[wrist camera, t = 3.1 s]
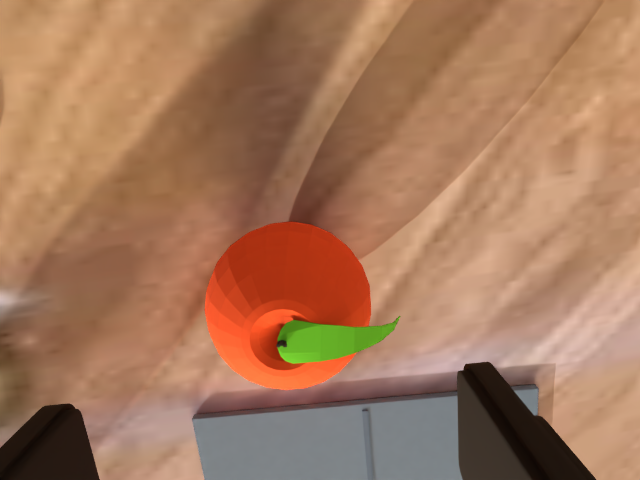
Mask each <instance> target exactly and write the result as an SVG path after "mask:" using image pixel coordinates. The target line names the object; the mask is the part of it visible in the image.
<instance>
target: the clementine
mask: <svg viewBox="0 0 640 480" xmlns="http://www.w3.org/2000/svg"><path fill="white" fill-rule="evenodd" d="M205 315H206V320H207V325H208V330H209V333H210V336H211V338H212V340H213V342H214V344H215V346H216V348H217V350H218V353H219V355H220V356H221V357H222V358H223V359H224V360H225V362H226V363H227V364H228V365H229V366H230V367H231V368H232V369H233V370H234V371H235V372H237V373H238V374H240V375H241V376H243V377H244V378H246V379H247V380H249V381H251V382H254V383H257V384H259V385H262V386H264V387H268V388H275V389H283V390H290V389H301V388H307V387H310V386H313V385H316V384H319V383H322V382H324V381H326V380H327V379H329V378H330V377H332V376H334V375H335V374H337V373H338V372H340V371H341V370H342V369H343V367H344V366H345V365H346V364H347V363H348V362H349V361H350V360H351V359H352V358H353V356H354V355H355V354H356V353H357V352H359V351H361V350H364V349H366V348H368V347H370V346H372V345H374V344H376V343H378V342H380V341H382V340H383V339H384V338H385V337H386V336H387V335H389V334H390V333H391V332H392V331H393V330H394V328H395V326H396V324H397V322H398V320H399V318H400V316H399V317H398V318H397V319H396V320H395V321H394V322H393V323H390V324H386V325H382V326H369V321H370V316H371V299H370V286H369V283H368V280H367V277H366V275H365V272H364V269H363V267H362V265H361V263H360V262H359V261H358V259H357V258H356V257H355V255H354V254H353V253H352V251H351V250H350V249H349V248H348V247H347V246H346V245H345V244H344V243H343V242H341V241H340V240H339V239H338V238H336V237H335V236H334V235H333V234H331V233H330V232H328V231H325V230H323V229H321V228H318V227H316V226H314V225H311V224H304V223H298V222H282V223H273V224H269V225H266V226H264V227H261V228H259V229H256V230H253V231H251V232H249V233H247V234H246V235H244V236H243V237H242V238H240V239H239V240H238V241H236V242H235V243H233V244H232V245H231V246H230V247H229V248H228V249H227V251H226V252H225V253H224V254H223V256H222V257H221V258H220V259H219V261H218V262H217V264H216V267H215V269H214V272H213V274H212V277H211V279H210V282H209V284H208V287H207V291H206V301H205ZM368 326H369V327H368Z"/></svg>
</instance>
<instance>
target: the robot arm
mask: <svg viewBox="0 0 640 480" xmlns="http://www.w3.org/2000/svg"><path fill="white" fill-rule="evenodd" d="M457 398H458V459H459V468H460V473H461V476H462V479H463V480H596V479H595V477H594V476H593V475H592V474H591V473H590V472H589V470H588V469H587V468H586V467H585V466H584V465H583V463H582V462H581V461H580V460H579V459H578V458H577V456H576V455H575V454H574V453H573V452H572V451H571V449H570V448H569V447H568V446H567V445H566V443H565V442H564V441H563V440H562V439H561V438H560V436H559V435H558V434H557V433H556V432H555V431H554V429H553V428H552V427H551V426H550V425H549V424H548V422H547V421H546V420H545V419H543V418H542V417H541V416H538V415H533V414H532V412H531V411H530V410H529V409H528V407H527V406H526V405H525V404H524V403H523V401H522V400H521V399H520V398H519V397H518V395H517V394H516V393H515V392H514V390H513V389H512V388H511V387H510V386H509V384H508V383H507V382H506V381H505V380H504V378H503V377H502V376H501V375H500V374H499V372H498V371H497V370H496V369H495V367H494V366H493V365H492V364H491V363H490V362H482V363H472V364H466V365H465V366H464V370H463V371H458V373H457ZM0 480H100V479H99V476H98V472H97V468H96V465H95V461H94V457H93V454H92V450H91V446H90V443H89V439H88V435H87V432H86V428H85V425H84V421H83V417H82V414H81V412H80V411H79V410H78V409H75V407H74V406H73V405H72V404H59V405H49V406H44V407H42V408H41V409H40V410H39V411H38V412H37V413H36V414H35V415H33V416H32V417H31V418H30V419H29V420H28V421H27V422H26V423H25V424H24V425H23V426H22V427H21V428H20V429H19V430H18V431H17V432H16V433H15V434H14V435H13V436H12V437H11V438H10V439H9V440H8V441H7V442H6V443H5V444H4V445H3V446H2V447H1V448H0Z"/></svg>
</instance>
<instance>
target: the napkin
mask: <svg viewBox="0 0 640 480" xmlns="http://www.w3.org/2000/svg"><path fill="white" fill-rule="evenodd" d="M510 387H511V388H512V389H513V390H514V392H515V393H516V394H517V395H518V397H519V398H520V399H521V400H522V401H523V403H524V404H525V405H526V406H527V407H528V409H529V410H530V411H531V412H532V414H533V415H537V414H538V392H539V388H538V387H537V386H536V385H535V384H532V385H521V386H510ZM192 420H193V425H194V430H195V435H196V440H197V445H198V450H199V455H200V459H201V464H202V469H203V474H204V479H205V480H463V479H462V476H461V473H460V468H459V459H458V398H457V391H454V392H442V393H431V394H420V395H409V396H397V397H386V398H375V399H364V400H352V401H341V402H330V403H319V404H307V405H296V406H285V407H274V408H262V409H251V410H240V411H229V412H218V413H206V414H195V415H194V416H193V418H192Z"/></svg>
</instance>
